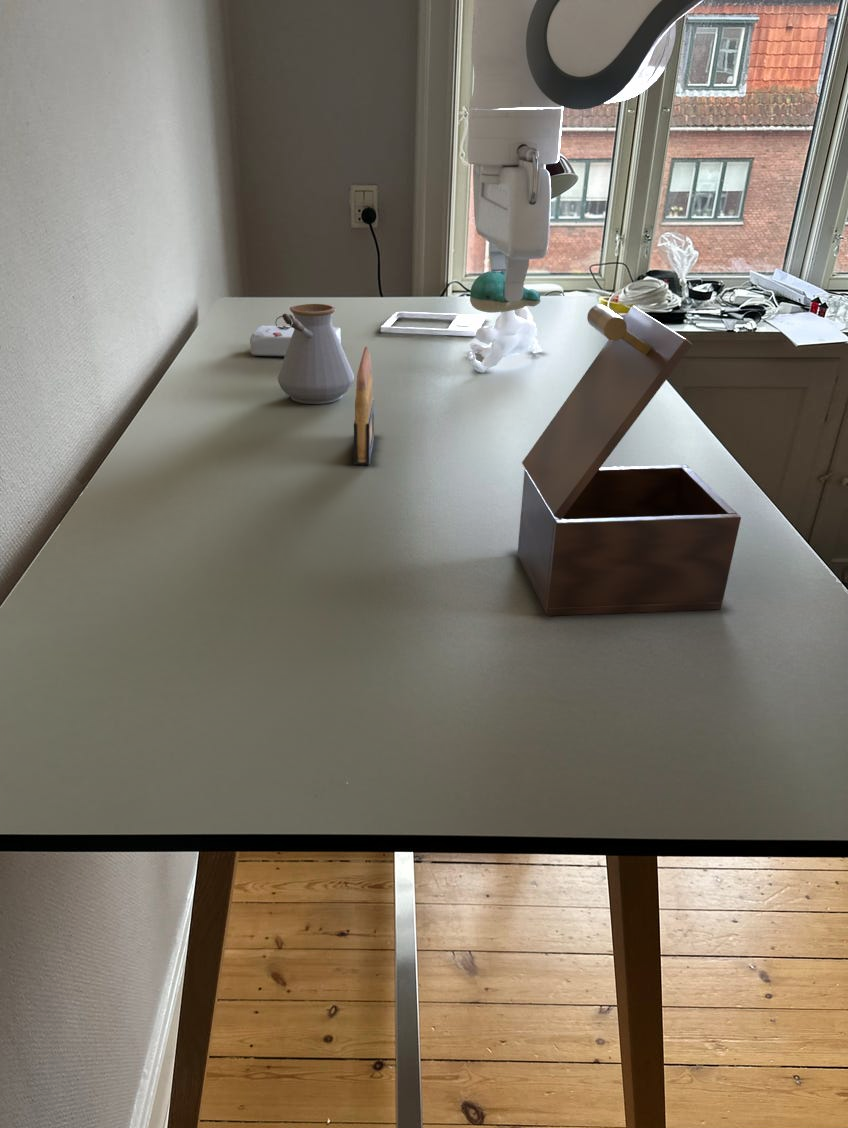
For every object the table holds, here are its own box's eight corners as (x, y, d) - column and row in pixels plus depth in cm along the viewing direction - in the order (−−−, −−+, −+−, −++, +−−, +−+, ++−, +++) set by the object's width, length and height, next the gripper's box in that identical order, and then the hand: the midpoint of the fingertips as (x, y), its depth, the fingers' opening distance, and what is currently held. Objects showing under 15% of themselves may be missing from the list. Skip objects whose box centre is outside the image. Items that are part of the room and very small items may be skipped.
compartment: (671, 548, 92) (686, 464, 87) (721, 609, 81) (741, 517, 76) (517, 554, 91) (524, 469, 86) (546, 616, 80) (556, 523, 75)
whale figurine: (472, 304, 100) (473, 266, 98) (540, 305, 99) (543, 267, 97) (467, 315, 95) (468, 276, 93) (539, 316, 94) (542, 276, 92)
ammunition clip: (369, 465, 113) (368, 366, 106) (354, 465, 113) (352, 366, 107) (374, 437, 122) (373, 344, 116) (360, 437, 122) (359, 344, 116)
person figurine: (483, 284, 158) (484, 283, 141) (555, 303, 157) (565, 304, 141) (462, 361, 162) (461, 369, 146) (532, 379, 162) (539, 389, 145)
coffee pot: (290, 384, 144) (285, 283, 136) (361, 388, 142) (360, 286, 134) (248, 426, 126) (239, 313, 118) (329, 431, 124) (326, 316, 116)
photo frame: (475, 330, 170) (380, 325, 174) (474, 336, 171) (380, 331, 175) (485, 314, 183) (396, 310, 186) (484, 320, 183) (396, 316, 187)
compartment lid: (639, 310, 79) (593, 277, 78) (693, 344, 69) (640, 307, 67) (528, 466, 86) (483, 439, 85) (561, 520, 75) (510, 490, 74)
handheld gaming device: (261, 345, 167) (260, 323, 165) (341, 347, 165) (340, 325, 163) (248, 358, 159) (247, 335, 157) (332, 360, 157) (331, 338, 155)
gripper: (573, 147, 80) (559, 312, 87) (524, 138, 98) (515, 276, 105) (502, 149, 80) (493, 314, 87) (465, 140, 97) (461, 278, 104)
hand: (505, 293), depth 96 cm, fingers closed on whale figurine, 5 cm apart
